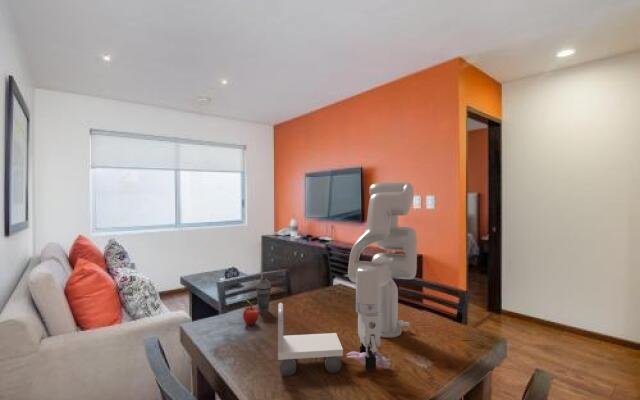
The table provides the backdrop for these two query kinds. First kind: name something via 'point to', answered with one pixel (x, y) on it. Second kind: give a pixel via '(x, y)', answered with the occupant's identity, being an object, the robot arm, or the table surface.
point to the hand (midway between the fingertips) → (367, 363)
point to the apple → (250, 315)
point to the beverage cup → (263, 294)
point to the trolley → (307, 348)
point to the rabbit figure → (379, 362)
